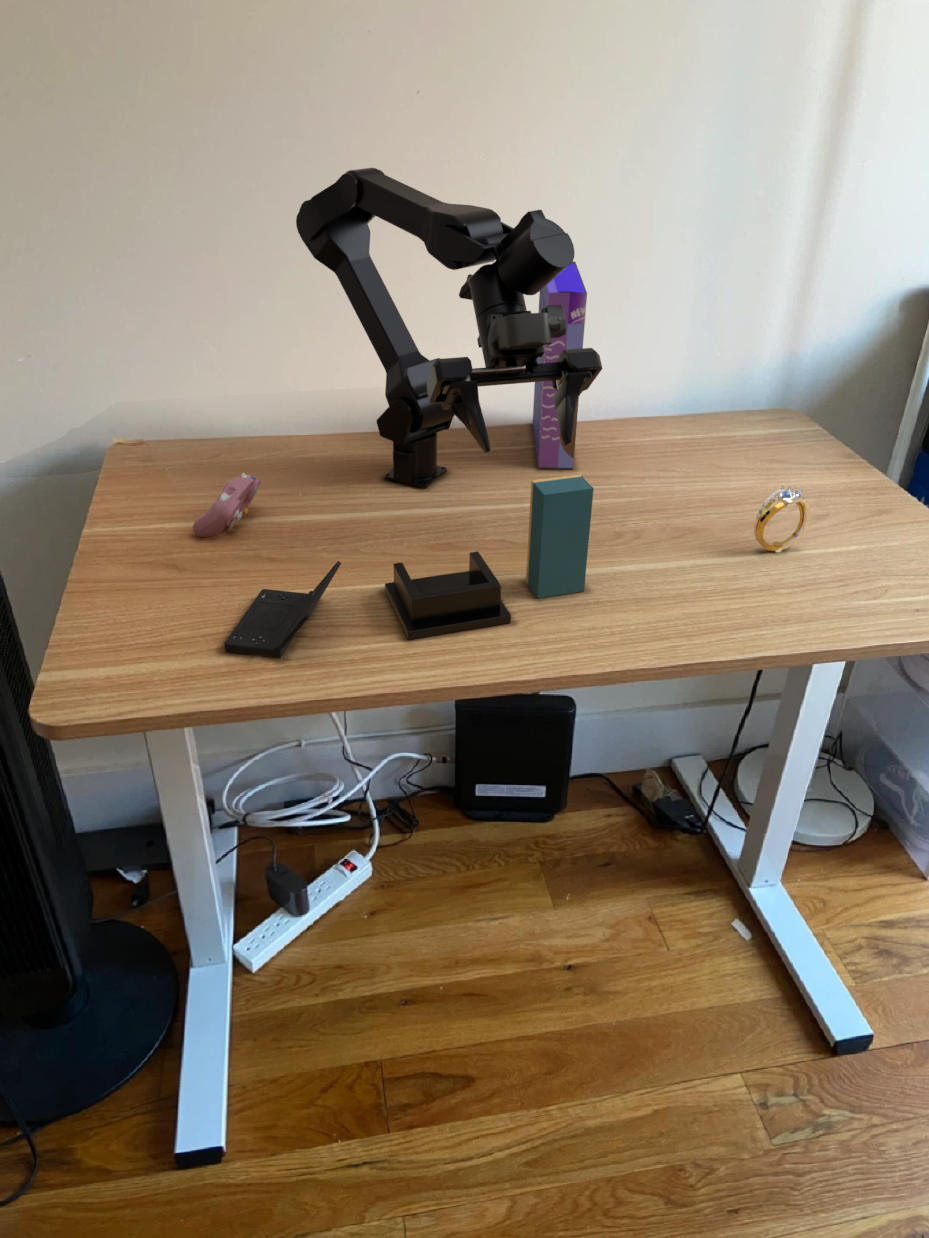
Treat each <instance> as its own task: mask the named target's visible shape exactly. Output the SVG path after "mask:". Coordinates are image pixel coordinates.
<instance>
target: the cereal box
mask: <svg viewBox="0 0 929 1238" xmlns="http://www.w3.org/2000/svg"><path fill="white" fill-rule="evenodd" d="M586 289H587V288H586V286H585V283H584V281H583V278H582V276H581V273H580V271H579V268H578V265H577V263H576V261H574V260H573V262H572V263H571V264H570V265H569V266H568V267H567V268H566V269H565V270H563V271H562V272H561V273H560V274H559V275H558V276H557V277H555V278H554V279H553V280H552V281H551V282H550V283H548V284H547V285H546V286H545V287H544V288H543V289H542V290H540V291H539V295H538V297H539V298H538V313H541V312H542V309H543V308H546V306H549V305H562V307H563V310H564V314H565V318H566V328H567V330H566V334H565V335H564V336H561V337H559V338H551V341H552V344H551V345H547V344H546V345H544V350H545V352H544V354H543V356H542V357H538V358H537V362H538V364H540V363H553V362H556V361H557V359H558V358H559V356H560V354H561V353H562V351H563V350H569V349H582V348H584V337H585V326H586V325H585V324H586V312H587V302H588V301H587V299H588V292H587V290H586ZM533 389H534V390H533V407H532V409H533V411H532V427H533V437H534V443H535V451H536V459H537V468H538V470H574V463H575V449H576V437H577V425H578V414H579V413H578V412H579V399H580V396H579V397H578V400H577V404H576V409H575V416H574V424H573V432H572V439H571V443H570V444H569V445H568V446H565V444H564V442H563V439H562V436H561V433H560V428H559V424H558V419H557V414H556V410H555V406H554V401H553V396H554V394H555V393H556V391H557V390H555V389H554V388H553V386H552V381H541V382H534V388H533Z"/></svg>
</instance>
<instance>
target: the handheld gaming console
mask: <svg viewBox="0 0 929 1238" xmlns="http://www.w3.org/2000/svg"><path fill="white" fill-rule="evenodd" d="M341 565H342V562H341V561H339V560H338V561H336V562H335V564H334V565H333V566H332V567H331V569H330V570H329V571H328V572H327V574H326V575H325V576H324V577H323V579H321V581H320V582H319V583H318V584H317V585H316V587H315V588H314V589H313V590H309V592H308V593H307V592H296V591H288V590H279V589H268V588H263V589H261V590H260V591H259V593H258V595H257V596H256V597H255V598H254V600H253V601H252V603H251V604H250V605H249V606H248V609H246V611H245V612H244V614H243V616H242V617H241V619H239V621H238V622H237V624H236V625H235V626H234V628H233V629H232V631H231V632H230V634H229V635H228V636H227V638H226V640H225V641H224V642H223V647H224V650H225V652H226V653H227V652H229V653H238V654H247V655H254V656H261V657H270V658H280V659H282V657H283V655H284V654H285V652H286V651H287V649H288V647H289V646H290V645H291V644H290V643H291V642H292V641H293V639H294V638H295V636H296V633H297V632H298V631H299V630H300V629H301V627H302V626H304V624H305V623H306V622H307V620H308V619H309V618H310V617H311V616H312V613H313V611H314V610H315V608H316V606H317V605H318V603H319V601H320V600H321V598H322V597H323V595H324V593H325V592H326V590H327V588H328V587H329V585H330V583H331V581H332V580H333V578H334V577H335V575H336V573H337V571H338V570H339V568H340V566H341Z"/></svg>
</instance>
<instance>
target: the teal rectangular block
mask: <svg viewBox="0 0 929 1238" xmlns="http://www.w3.org/2000/svg"><path fill="white" fill-rule="evenodd" d="M530 483H531V484H530V501H529V503H530V504H529V516H528V534H527V535H528V536H527V538H528V539H527V553H526V554H527V557H526V574H525V575H526V576H525V583H526V585H527V586H528V587H529V589H530V590H531V592H532V593H533V594H534V596H535V597H536V598H537V599H543V598H544V599H545V598H549V597H557V596H562V595H568V594H569V595H570V594H576V593H581V592H585V585H586V575H587V564H588V563H587V562H588V555H589V554H588V553H589V542H590V533H591V532H590V531H591V522H592V521H591V519H592V510H593V509H592V508H593V498H594V489H595V488H594V487H593V486H592V485H591V484H590V483H589V482H588V481H587V480H586V478H584V477H583V476H582V475H581V474H571V475H563V476H555V477H548V478H539V479H532V480H531V481H530Z"/></svg>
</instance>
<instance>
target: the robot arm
mask: <svg viewBox="0 0 929 1238" xmlns="http://www.w3.org/2000/svg"><path fill="white" fill-rule="evenodd" d="M375 217H377V218H379V219H381V220H383V221H385V222H387V223H389V224H391V225H393V226H395V227H396V228H399V229H400V230H402V231H404V232H406V233H409V234H411V235H412V236H415V237H417V238H418V239H419V240H421V241H422V242H423V243H424V247H425V248H426V251H427V252H428V254H429V255H430V256H431V257H432V258H434V259H435V260H436V261H438V262H439V263H440V264H441V265H442V266H444V267H445V268H447V269H449V270H452V271H457V270H462V269H466V268H470V267H475V266H480V265H481V266H480V267H479V268H478V269H477V270H476V271H475V272H474V273H473V274H471V273H470V274H467V277H466V279H465V282H464V284H463V285H462V286H461V287H460V290H459V293H458V296H459V298H460V299H464V300H469V301H472V305H473V310H474V316H475V320H476V326H477V331H478V337H477V345H478V348H481V351H482V357H483V361H484V367H474V368H473V364H472V360H471V359H470V358H469V357H468V356H460V357H447V358H446V357H445V358H440V357H437V358H433V359H429V358H428V357H425V356H424V355H423V354H422V353H421V352H420V350H419V349H418V347H417V344H416V343H415V340H414V338H413V336H412V335H411V333H410V331H409V328H408V326H407V325H406V323H405V321H404V319H403V317H402V315H401V313H400V311H399V310H398V307H397V306H396V303H395V302H394V300H393V297H392V295H391V294H390V292H389V289H388V288H387V286H386V284H385V282H384V280H383V278H382V276H381V274H380V272H379V270H378V269H377V267H376V265H375V263H374V261H373V259H372V257H371V254H370V245H371V229H370V226H369V223H370V222H371V221H373V219H374V218H375ZM501 220H502V219H501V217H500V216H499V214H498V212H495V210H493V209H492V208H487V207H482V206H477V205H472V204H460V203H448V202H444V201H441V200H439V199H437V198H435V197H433V196H431V195H429V194H427V193H424V192H422V191H420V190H418V189H416V188H413V186H409V185H408V184H406V183H404V182H401V181H400V180H397V179H395V178H392V177H390V176H388V175H386V174H385V173H384V171H382V170H381V169H378V168H376V167H366V168H357V169H350V170H347V171H346V172H344V173H343V174H342V175H341V176H339V178H338V179H337V180H336V181H335V182H334V183H332V184H330V185H329V186H327V187H326V188H325V189H322V190H321V191H319V192H318V193H316V194H315V195H313V196H312V197H311V198H310V199H307V200H304V201H303V202H302V203H301V205H300V207H299V211H298V213H297V214H296V219H295V225H296V229H297V233H298V234H299V237H300V238H301V241H302V242H303V243H304V245H305V247H306V248H307V249H308V251H309V252H310V254H311V256H312V257H313V258H314V259H315V260H316V261H318V262H319V263H320V264H322V265H323V266H325V267H326V268H328V269H329V270H331V272H333V273H334V275H335V276H336V277H337V279H338V281H339V283H340V285H341V287H342V289H343V291H344V292H345V293H344V294H346V297H347V299H348V301H349V303H350V304H351V306H352V309H353V310H354V312H355V314H356V316H357V318H358V320H359V322H360V324H361V326H362V328H363V330H364V331H365V333H366V336H367V338H368V339H369V341H370V343H371V345H372V347H373V349H374V351H375V353H376V355H377V357H378V359H379V362H380V363H381V365H382V367H383V368H384V370H385V391H384V392H385V394H384V396H385V399H386V402H387V404H388V407H387V408H386V409H385V411H383V412H382V413H381V414H380V416H378V418H377V419H376V425H377V429H378V434H379V436H380V437H382V438H383V439H386V440H387V441H388V440H389V441H391V442H392V468H391V469H390V470H389V471H388V472H386V473H384V474H383V478H384V480H388V481H393V482H396V483H401V484H405V485H408V486H413V487H419V488H421V489H425V488H428V487H429V486H430V485H431V484H433V483H434V482H435V481H437V480H438V479H439V478H441V477H442V476H443V475H444V474H446V473H447V472H448V468H447V467H446V466H442V465H438V433H439V432H442V431H445V430H446V431H447V430H450V428H451V425H452V422H453V419H454V417H455V416H456V418H457V419H458V420H459V421H460V422H461V423H462V425H464V427H465V428H466V429H467V430H468V432H469V433H470V435H471V436H472V438H473V439H474V440H475V442H476V443H477V445H478V446H479V448H480V449H481V450H482V452H483V453H484V454H487V455H488V454H489V453H490V452H491V444H490V437H489V432H488V429H487V425H486V421H485V417H484V414H483V410H482V407H481V403H480V397H479V396H480V395H479V387H487V386H488V387H489V386H502V385H514V384H515V385H516V384H528V383H535V382H541V381H552V386H553V388H554V389H555V390H557V391H556V393H555V394H554V396H553V401H554V406H555V410H556V414H557V419H558V424H559V428H560V433H561V436H562V439H563V442H564V444H565V446H568V445H569V444H570V443H571V439H572V432H573V424H574V416H575V409H576V404H577V400H578V397H579V398H580V396H581V394H582V393H583V392H584V391H587V390H588V389H589V388H590V386H592V384H593V382H594V381H595V380H596V379H597V377H598V375H599V374H600V373H601V371H602V370H603V365H602V360H601V356H600V354H599V353H598V352H597V350H595V349H594V348H593V347H586V348H585V347H583V348H582V349H569V350H563V351H562V353H561V354H560V356H559V358H558V359H557V361H556V362H553V363H540V364H538V362H537V358H538V357H542V356H543V354H544V352H545V350H544V345H546V344H547V345H551V344H552V341H551V338H559V337H561V336H564V335H565V334H566V330H567V328H566V318H565V314H564V310H563V307H562V305H549V306H546V308H543V309H542V312H541V313H539V312H534V313H533V312H532V311H531V310H528V309H527V306H526V305H527V304H526V300H525V296H535V295H536V294H538V293H540V290H542V289H543V288H544V287H545V286H546V285H547V284H548V283H550V282H551V281H552V280H553V279H554V278H555V277H557V276H558V275H559V274H560V273H561V272H562V271H563V270H565V269H566V268H567V267H568V266H569V265H570V264H571V263H572V262H573V261H574V259H575V246H574V243H573V241H572V238H571V236H570V234H569V233H567V232H565V230H564V229H563V228H562V227H561V226H560V225H558V224H557V223H556V222H555V221H553V220H551V219H548V218H546V215H545V214H544V212H543V210H542V209H536V210H530V211H529V210H528V211H527V212H525V214H524V215H523V216H522V217H521V218H520V220H519V222H518V223H517V224H516V225H515V227H513V226H510V225H508V224H507V223H504V222H503V221H501Z"/></svg>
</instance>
